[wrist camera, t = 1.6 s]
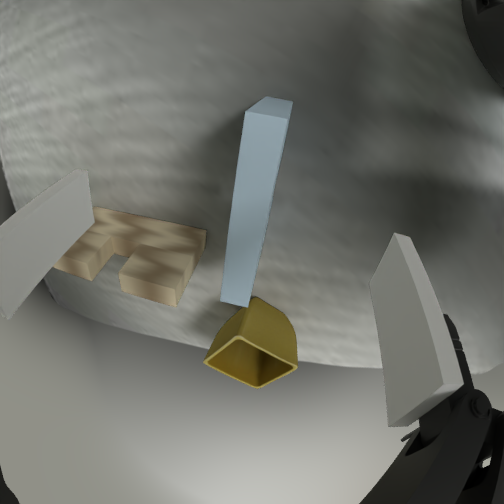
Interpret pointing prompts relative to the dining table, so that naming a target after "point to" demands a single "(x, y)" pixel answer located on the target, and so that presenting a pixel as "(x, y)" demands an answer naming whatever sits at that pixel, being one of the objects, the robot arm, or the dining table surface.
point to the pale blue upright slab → (253, 195)
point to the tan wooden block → (138, 254)
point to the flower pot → (255, 345)
